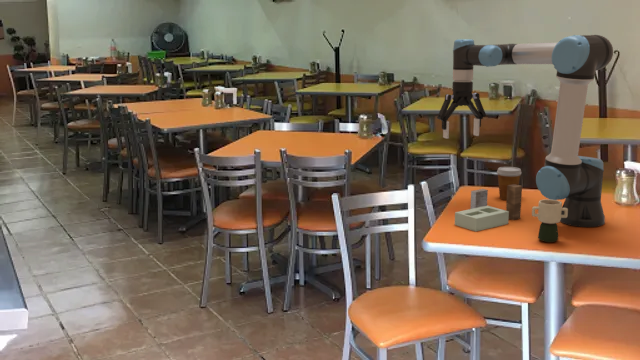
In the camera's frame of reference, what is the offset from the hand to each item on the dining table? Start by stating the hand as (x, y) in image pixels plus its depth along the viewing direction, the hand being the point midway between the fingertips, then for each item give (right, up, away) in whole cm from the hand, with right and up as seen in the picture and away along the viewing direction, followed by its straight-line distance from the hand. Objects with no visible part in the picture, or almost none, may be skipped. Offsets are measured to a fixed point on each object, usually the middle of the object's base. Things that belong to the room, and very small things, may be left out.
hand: (461, 136), depth 279 cm
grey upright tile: (+4, -29, -12) cm, 32 cm away
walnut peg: (+15, -30, -17) cm, 38 cm away
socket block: (+2, -32, -25) cm, 40 cm away
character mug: (+19, -36, -44) cm, 60 cm away
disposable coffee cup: (+21, -24, +11) cm, 34 cm away
